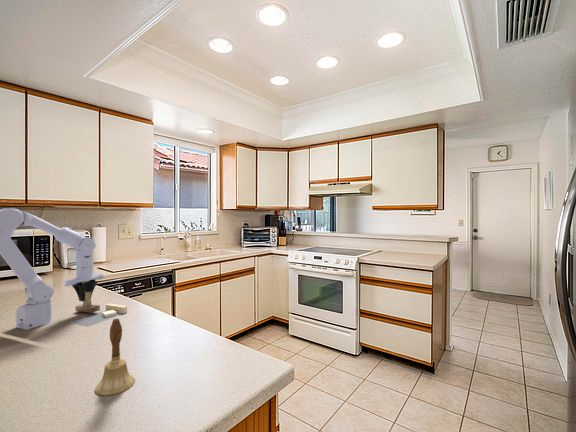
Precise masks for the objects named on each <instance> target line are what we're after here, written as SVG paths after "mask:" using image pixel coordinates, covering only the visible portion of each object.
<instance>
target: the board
mask: <svg viewBox="0 0 576 432" xmlns="http://www.w3.org/2000/svg"><path fill="white" fill-rule="evenodd" d="M110 310H114V311H116V312H117V315H115V316H110V317H106V318H105V317H104V316H102V312H105V311H110ZM127 313H128V306H127V305H120V304H114V303H107V304H105V310H103V311H100V312H97V313H94V314H92V315H89V316H86V317H83V318H80V319H76V320H74V321H73V320H72V321H71V322H69V324H71V325H72V324H73V325H78V326H83V327H88V328H89V327H91V326H93V325H97V324H99V323H102V322H105V321H107V320H110V319H114V318H115V317H117V316H121V315H124V314H127Z"/></svg>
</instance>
